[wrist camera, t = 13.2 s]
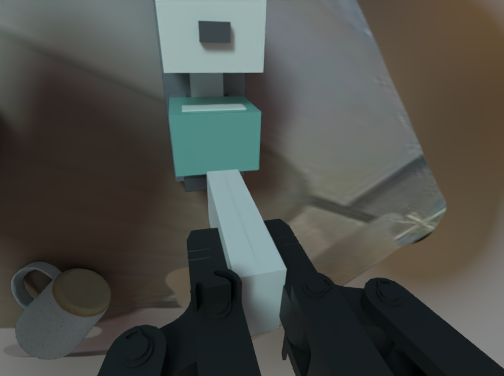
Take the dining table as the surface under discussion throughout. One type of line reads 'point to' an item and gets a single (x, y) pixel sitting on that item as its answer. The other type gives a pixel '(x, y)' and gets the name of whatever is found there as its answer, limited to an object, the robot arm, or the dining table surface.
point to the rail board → (208, 51)
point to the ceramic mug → (59, 309)
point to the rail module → (214, 133)
